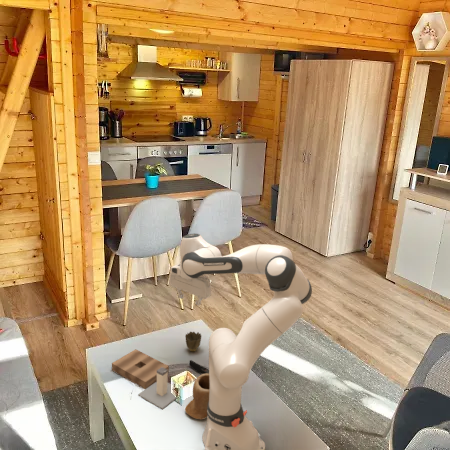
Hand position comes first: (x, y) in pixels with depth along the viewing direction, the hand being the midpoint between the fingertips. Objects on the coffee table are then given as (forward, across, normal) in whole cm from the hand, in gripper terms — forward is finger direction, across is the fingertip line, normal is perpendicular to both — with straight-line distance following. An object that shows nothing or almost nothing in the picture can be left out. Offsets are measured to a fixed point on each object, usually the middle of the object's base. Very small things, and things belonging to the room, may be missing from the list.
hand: (189, 301), depth 194 cm
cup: (+31, +5, -10) cm, 33 cm away
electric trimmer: (+32, -9, +1) cm, 33 cm away
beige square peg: (+30, -5, +22) cm, 38 cm away
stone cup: (+31, -24, +18) cm, 43 cm away
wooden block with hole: (+31, +12, +17) cm, 37 cm away
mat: (+31, -5, +22) cm, 38 cm away
